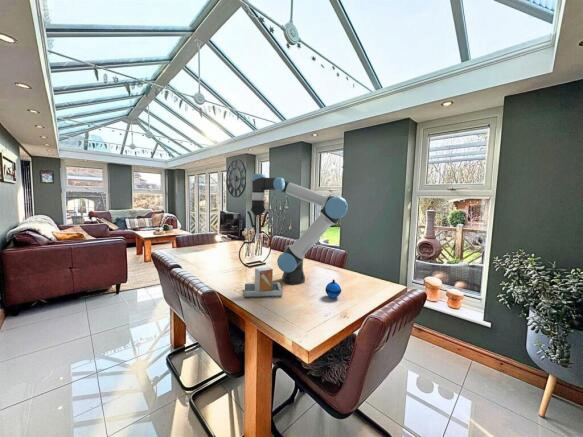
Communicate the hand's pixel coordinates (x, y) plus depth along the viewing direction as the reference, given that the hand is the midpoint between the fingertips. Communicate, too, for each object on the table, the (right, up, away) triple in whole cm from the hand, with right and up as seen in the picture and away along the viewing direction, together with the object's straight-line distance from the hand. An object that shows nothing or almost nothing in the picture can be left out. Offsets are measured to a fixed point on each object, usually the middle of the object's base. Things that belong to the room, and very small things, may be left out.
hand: (257, 238), depth 152 cm
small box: (+5, -29, -13) cm, 32 cm away
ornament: (+44, -31, -15) cm, 56 cm away
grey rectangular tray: (+5, -30, -13) cm, 33 cm away
